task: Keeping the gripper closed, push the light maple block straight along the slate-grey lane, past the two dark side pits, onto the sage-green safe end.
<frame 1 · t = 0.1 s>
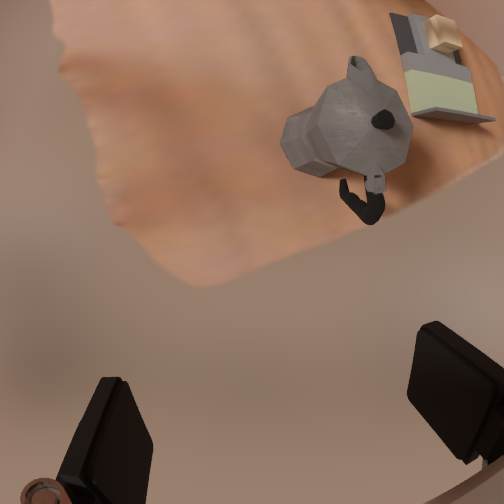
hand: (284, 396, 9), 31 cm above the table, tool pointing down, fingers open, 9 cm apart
coffeepot: (315, 150, 38), on the table
trap lane: (435, 67, 36), on the table
maple block: (435, 38, 33), point 2 cm above the table, touching trap lane
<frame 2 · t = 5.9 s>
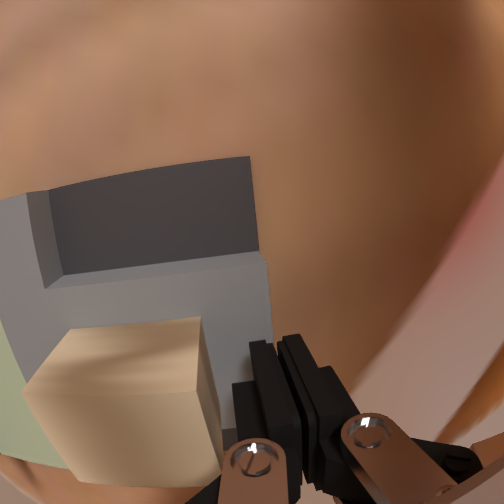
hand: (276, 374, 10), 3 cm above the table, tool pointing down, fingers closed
trap lane: (70, 347, 12), on the table
maple block: (145, 371, 10), point 2 cm above the table, touching gripper
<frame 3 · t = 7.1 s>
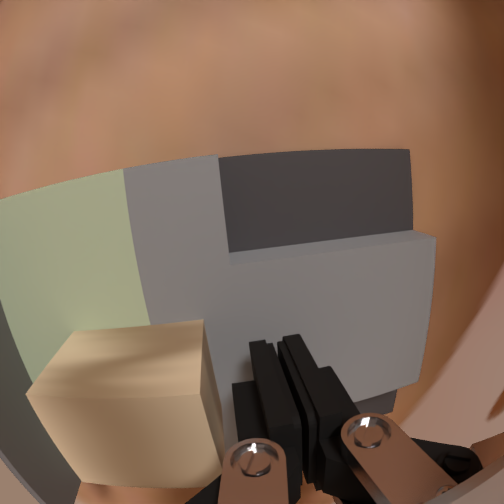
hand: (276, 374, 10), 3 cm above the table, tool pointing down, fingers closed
trap lane: (214, 335, 13), on the table
maple block: (147, 373, 11), point 2 cm above the table, touching gripper, trap lane
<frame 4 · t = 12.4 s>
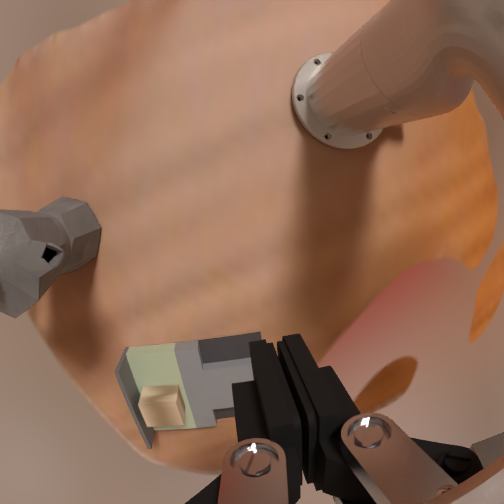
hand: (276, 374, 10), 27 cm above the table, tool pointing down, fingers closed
coffeepot: (63, 234, 34), on the table
trap lane: (200, 383, 40), on the table
maple block: (164, 396, 38), point 2 cm above the table, touching trap lane
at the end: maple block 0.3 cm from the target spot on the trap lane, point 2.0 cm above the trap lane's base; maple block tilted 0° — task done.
